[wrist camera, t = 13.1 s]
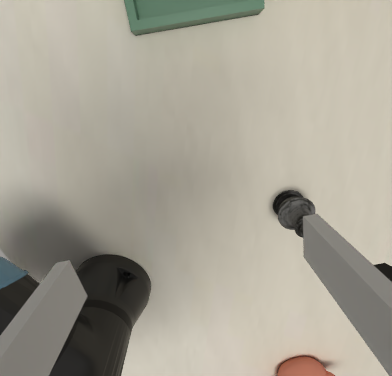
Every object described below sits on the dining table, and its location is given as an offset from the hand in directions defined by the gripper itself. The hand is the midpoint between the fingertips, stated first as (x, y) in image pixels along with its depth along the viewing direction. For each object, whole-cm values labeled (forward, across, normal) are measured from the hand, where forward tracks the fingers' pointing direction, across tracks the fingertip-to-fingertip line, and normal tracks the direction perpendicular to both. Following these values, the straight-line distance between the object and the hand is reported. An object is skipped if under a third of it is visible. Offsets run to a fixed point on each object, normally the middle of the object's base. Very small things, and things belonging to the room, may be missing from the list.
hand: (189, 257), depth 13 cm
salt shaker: (+25, +15, -12) cm, 32 cm away
